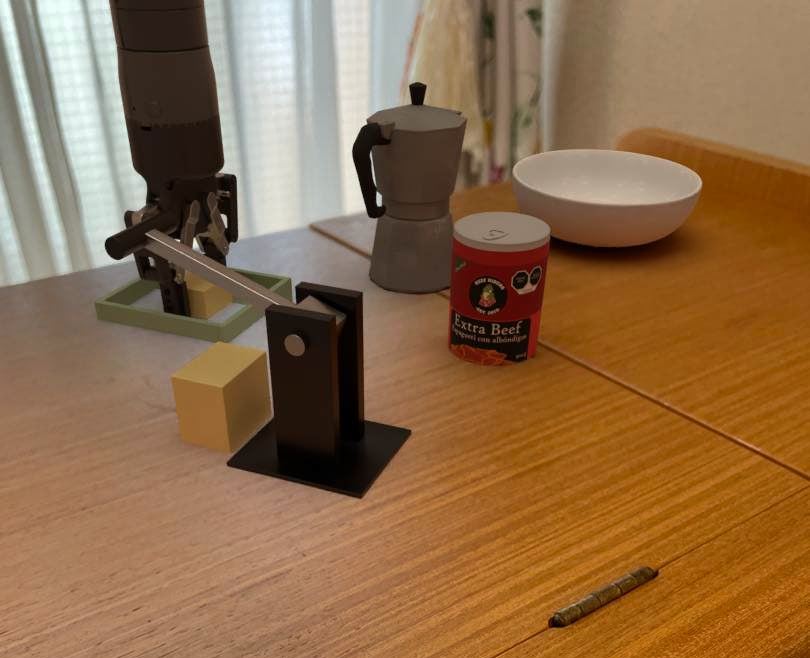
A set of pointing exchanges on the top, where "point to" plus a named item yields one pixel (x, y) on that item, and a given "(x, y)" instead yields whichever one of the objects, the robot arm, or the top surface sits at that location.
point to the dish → (119, 312)
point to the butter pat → (205, 297)
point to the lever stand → (319, 400)
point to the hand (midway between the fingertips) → (198, 306)
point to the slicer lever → (203, 265)
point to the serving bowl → (605, 195)
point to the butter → (222, 396)
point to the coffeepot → (411, 191)
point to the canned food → (497, 287)
